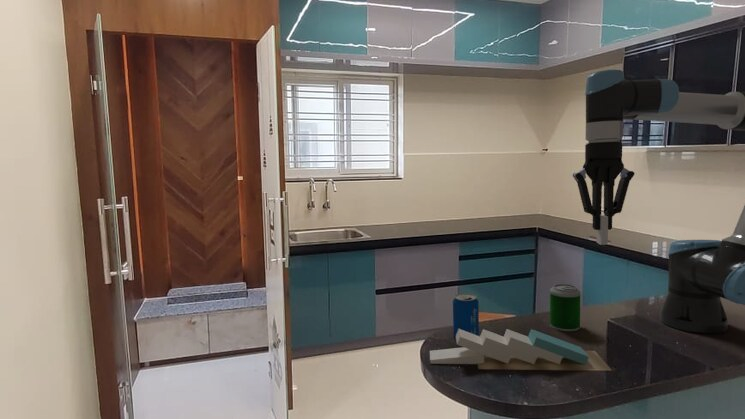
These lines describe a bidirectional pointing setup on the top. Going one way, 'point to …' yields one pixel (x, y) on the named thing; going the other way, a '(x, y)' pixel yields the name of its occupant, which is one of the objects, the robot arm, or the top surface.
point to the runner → (547, 364)
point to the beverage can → (465, 314)
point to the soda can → (565, 307)
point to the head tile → (558, 346)
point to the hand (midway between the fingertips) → (601, 243)
